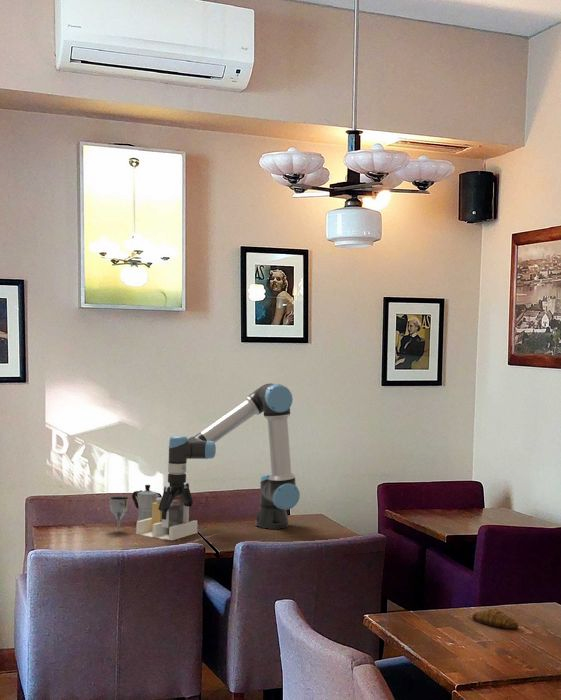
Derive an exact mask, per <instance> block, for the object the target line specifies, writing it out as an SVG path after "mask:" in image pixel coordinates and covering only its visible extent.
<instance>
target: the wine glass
mask: <svg viewBox="0 0 561 700" xmlns="http://www.w3.org/2000/svg"><path fill="white" fill-rule="evenodd" d="M129 505H130V497H129V496H124V495H121V496H120V495H118V496H117V495H115V496H110V497H109V509H110V511H111V514H113V516H114V517H115V519H116V522H117V530H116V533H120V532H121V530H120V524H121V521H122V518H123V517H124V516H125V514H126V513H127V512H128V510H129Z"/></svg>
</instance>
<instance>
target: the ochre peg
mask: <svg viewBox="0 0 561 700" xmlns="http://www.w3.org/2000/svg"><path fill="white" fill-rule="evenodd" d="M161 499H162V497H157V498H156V503H152V526H151V532H152V531H153V524H156V523H159V522H162V511H160V510H158V508H159V505H160V502H161Z"/></svg>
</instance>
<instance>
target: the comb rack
mask: <svg viewBox="0 0 561 700" xmlns="http://www.w3.org/2000/svg"><path fill="white" fill-rule="evenodd" d="M151 526H152V518H149V519H144V520H140V521H138V520H137V521H136V529H135V531H136V533H135V535H139V536H140V535H141V536H145V537H150V538H156V539H161V540H166V541H167V540H168V541H175V540H177V539H181V538H184V537H185V538H186V537H188V536H191V535H194V534H198V520H191V521H190V520H189V521H188V522H183V524H179V525H175V526H172V527H169V535H167V532H168V528H166V527H162V522H159V523H156V524H153V531H152V532H151Z"/></svg>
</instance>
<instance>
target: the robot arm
mask: <svg viewBox="0 0 561 700" xmlns="http://www.w3.org/2000/svg"><path fill="white" fill-rule="evenodd" d="M292 404H293V394H292V392H291V390H290V389H289V388H288V387H287V386H285V385H282V384H280V383H265V384H262V385H261V386H260V387H258V388H257V389H255V390H254V391H253V392H252V393H250V394H249V395H247V396H246V398H245V400H244V401H243V402H241V403H240V404H238V405H237V406H236V407H234V408H233V409H232V410H230V411H229V412H228V413H225V414H224V415H223V416H220V418H218V419H217V420H216V421H214V422H213V423H211V424H210V425H208V426H207V427H205V428H204V429H203V430H201V431H200V432H198V433H197V434H196V435H194V436H190V437H188V436H186V435H172V436H170V437H169V443H168V462H167V463H168V465H167V466H168V467H167V472H168V474H167V483H169V486H167V485H166V486H164V487H163V494H162V496H161V498H162V499H161V502H160V505H159V508H158V510H160V511H162V527H166V528H168V523H169V511H168V509H169V507H170V505H172V504H173V500H174V499H175V498H176V497H178V496H179V498H180V501H181V502H182V503H183V505H184V512H183V523H186V522H189V515H190V507H192V506H193V504H194V501H193V498H192V495H191V494H192V493H191V491H190V484H189V482H187V474H186V473H187V464H188V463H187V460H191V459H192V460H193V459H200V460H201V459H202V460H208V459H214V458H215V456H216V453H217V451H216V450H217V449H216V443H217V442H218V441H219V440H221V439H222V438H224V437H225V436H226V435H228V434H230V433H231V432H233V430H235V429H237V428H238V427H239V426H240V425H242V424H243V423H245V422H247V421H248V420H249V419H251V418H252V417H254V416H255V415H257V416H259V415H260V414H262V413H263V417H264V418H265V419H266V420H267V430H268V443H269V455H270V456H269V457H270V467H271V474H263V475H261V477H260V482H259V483H260V490H259V491H260V493H259V495H260V497H259V510H258V512H257V516H256V518H255V524H256V525H257V526H259V527H258V528H260V527H262V529H266V528H268V529H269V530H280V528H282V529H286V528H285V527H287V528H289V527H288V526H290V520H289V517H288V513H287V510H290V509H293V508H294V507H295V506H297V504H298V502H299V500H300V497H301V496H300V491H299V488H298V486H297V485H296V476H295V475H294V474H293V473H292V466H291V465H292V464H291V453H290V452H291V451H290V439H289V438H290V437H289V425H288V418H289V417H290V415H291V406H292ZM256 525H255V526H256ZM257 526H256V527H257Z"/></svg>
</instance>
